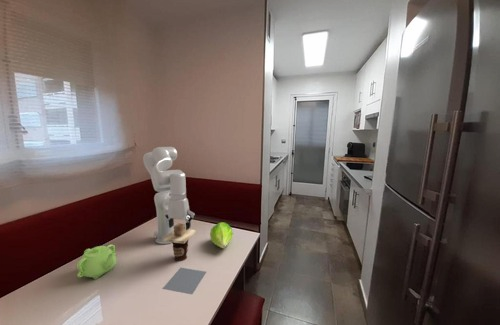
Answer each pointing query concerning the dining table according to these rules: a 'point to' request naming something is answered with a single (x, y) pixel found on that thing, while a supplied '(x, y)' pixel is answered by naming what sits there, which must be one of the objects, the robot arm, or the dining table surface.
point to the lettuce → (221, 234)
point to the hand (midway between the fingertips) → (179, 227)
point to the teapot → (97, 261)
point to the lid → (179, 234)
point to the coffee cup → (180, 251)
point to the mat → (185, 280)
